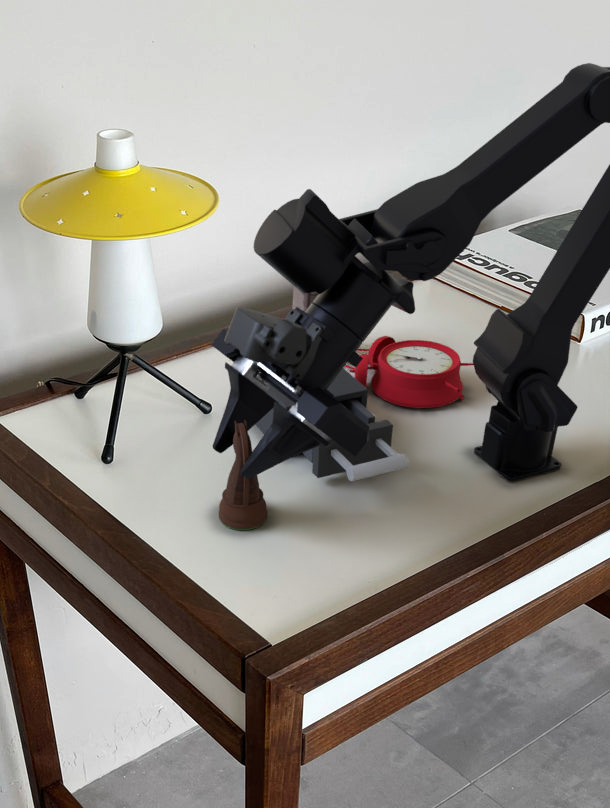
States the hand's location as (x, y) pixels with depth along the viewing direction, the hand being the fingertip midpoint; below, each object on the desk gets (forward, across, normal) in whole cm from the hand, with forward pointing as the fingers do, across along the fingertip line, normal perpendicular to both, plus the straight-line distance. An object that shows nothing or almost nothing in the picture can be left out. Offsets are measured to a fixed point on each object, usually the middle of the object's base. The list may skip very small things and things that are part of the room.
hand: (229, 463), depth 91 cm
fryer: (-6, -13, +16) cm, 21 cm away
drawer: (-6, -4, +15) cm, 16 cm away
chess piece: (+4, 0, +6) cm, 7 cm away
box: (-14, -26, +23) cm, 37 cm away
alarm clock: (-17, -14, +27) cm, 35 cm away
